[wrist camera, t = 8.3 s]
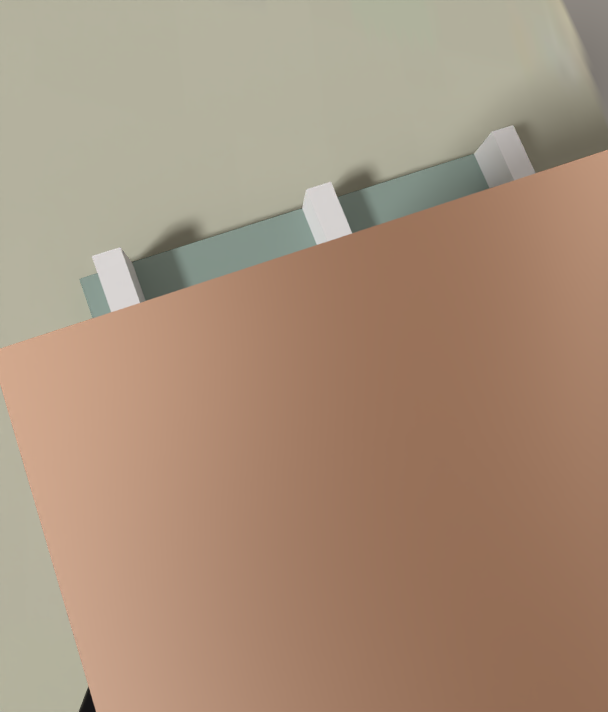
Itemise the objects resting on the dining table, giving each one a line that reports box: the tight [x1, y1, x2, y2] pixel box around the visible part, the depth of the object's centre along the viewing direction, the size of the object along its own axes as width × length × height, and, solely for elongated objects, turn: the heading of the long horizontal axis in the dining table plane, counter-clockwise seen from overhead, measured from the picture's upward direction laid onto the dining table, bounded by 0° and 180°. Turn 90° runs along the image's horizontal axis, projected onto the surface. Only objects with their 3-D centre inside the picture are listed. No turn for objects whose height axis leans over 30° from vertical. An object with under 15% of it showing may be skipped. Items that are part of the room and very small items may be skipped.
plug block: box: [0, 150, 608, 712], centre depth 9 cm, size 5×5×13 cm
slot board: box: [80, 125, 535, 318], centre depth 17 cm, size 18×19×2 cm
